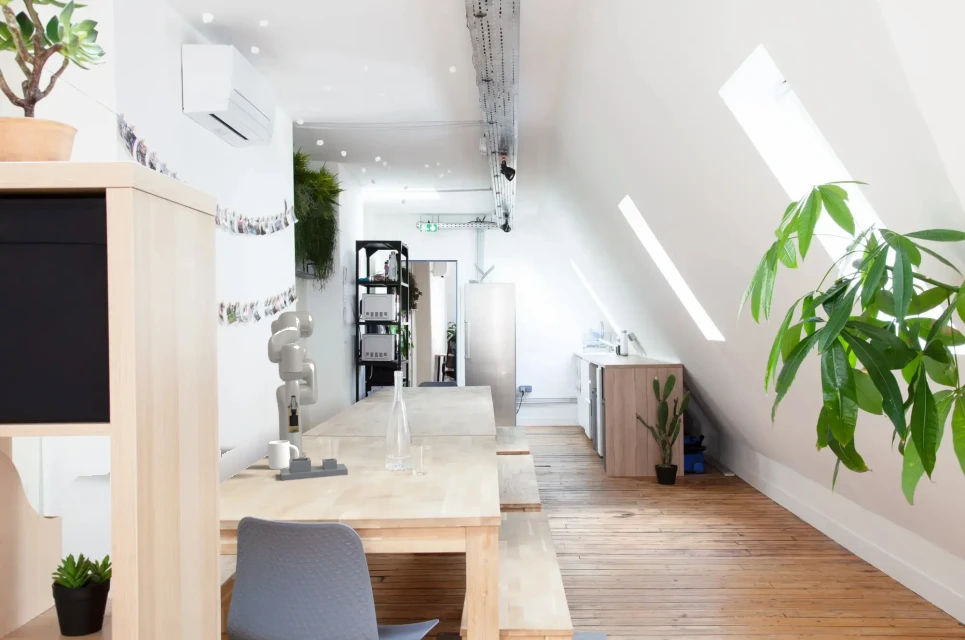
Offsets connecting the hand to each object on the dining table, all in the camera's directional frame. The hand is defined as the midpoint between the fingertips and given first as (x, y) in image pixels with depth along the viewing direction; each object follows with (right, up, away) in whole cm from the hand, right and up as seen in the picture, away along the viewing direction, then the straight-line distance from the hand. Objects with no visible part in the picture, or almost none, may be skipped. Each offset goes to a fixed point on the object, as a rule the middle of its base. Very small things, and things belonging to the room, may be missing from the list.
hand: (293, 424), depth 275 cm
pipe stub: (0, -3, 0) cm, 3 cm away
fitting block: (+7, -19, +2) cm, 20 cm away
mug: (-8, -20, +18) cm, 28 cm away
